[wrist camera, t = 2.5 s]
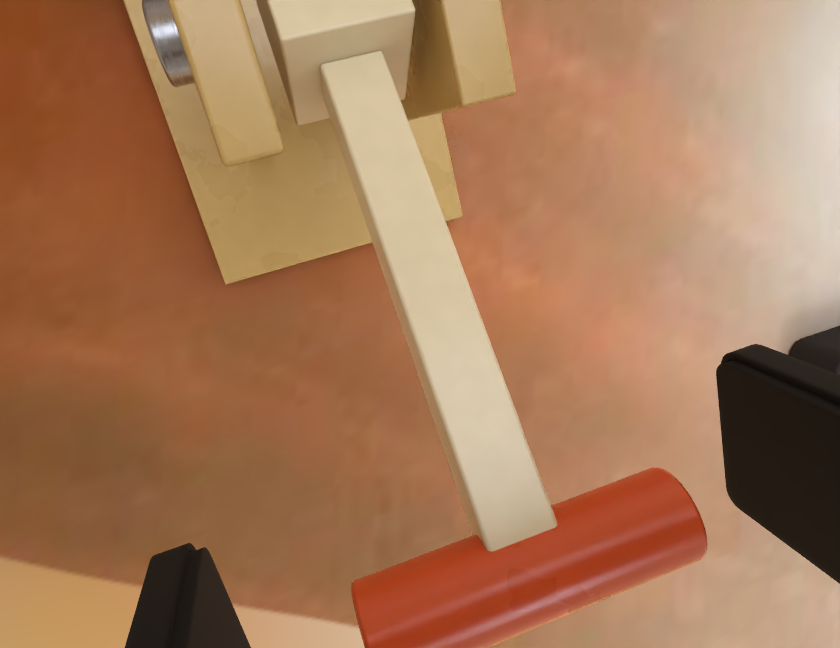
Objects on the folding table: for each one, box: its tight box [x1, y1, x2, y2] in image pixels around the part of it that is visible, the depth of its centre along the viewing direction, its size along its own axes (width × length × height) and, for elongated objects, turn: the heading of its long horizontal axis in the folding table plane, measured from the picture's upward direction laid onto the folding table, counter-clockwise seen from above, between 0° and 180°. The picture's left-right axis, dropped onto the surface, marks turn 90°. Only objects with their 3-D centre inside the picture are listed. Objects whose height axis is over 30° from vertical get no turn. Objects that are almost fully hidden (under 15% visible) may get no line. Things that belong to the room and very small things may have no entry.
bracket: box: [123, 0, 516, 284], centre depth 15 cm, size 12×9×13 cm
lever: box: [256, 0, 707, 648], centre depth 10 cm, size 12×5×2 cm, turn 15°
